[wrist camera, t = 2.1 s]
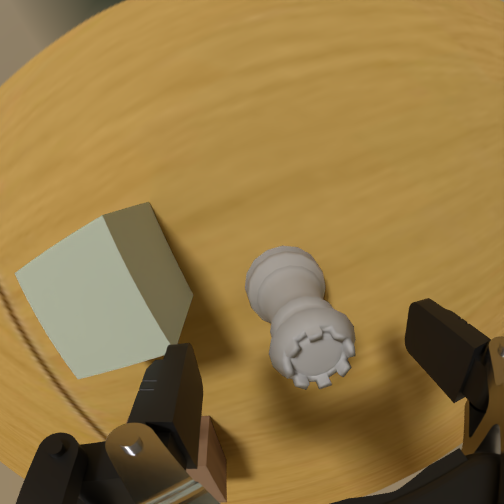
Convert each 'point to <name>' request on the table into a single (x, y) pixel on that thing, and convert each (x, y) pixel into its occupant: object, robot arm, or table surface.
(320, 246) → the table surface
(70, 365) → the sage block
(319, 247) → the table surface
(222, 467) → the walnut block
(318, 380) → the rook chess piece
